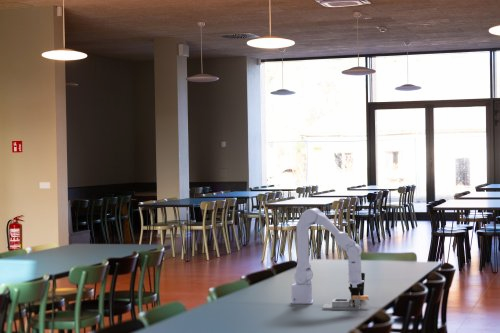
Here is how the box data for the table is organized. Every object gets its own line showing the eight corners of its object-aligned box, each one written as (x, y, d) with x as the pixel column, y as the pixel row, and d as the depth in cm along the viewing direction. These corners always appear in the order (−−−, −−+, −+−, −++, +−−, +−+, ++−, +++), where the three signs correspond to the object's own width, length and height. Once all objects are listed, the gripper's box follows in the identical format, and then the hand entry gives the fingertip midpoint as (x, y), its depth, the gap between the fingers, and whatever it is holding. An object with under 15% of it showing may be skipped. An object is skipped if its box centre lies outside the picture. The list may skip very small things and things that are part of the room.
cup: (353, 301, 368) (352, 275, 368) (346, 298, 375) (345, 273, 375) (368, 299, 370) (367, 274, 370) (361, 297, 377) (360, 272, 377)
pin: (352, 299, 350) (352, 296, 350) (352, 299, 352) (352, 295, 352) (368, 299, 349) (368, 296, 349) (368, 299, 351) (368, 295, 351)
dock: (322, 309, 348) (322, 298, 348) (324, 305, 358) (324, 294, 358) (359, 310, 346) (358, 298, 346) (360, 305, 355) (359, 294, 355)
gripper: (363, 273, 351) (364, 303, 351) (364, 268, 365) (365, 298, 365) (347, 273, 352) (348, 303, 352) (349, 268, 366) (349, 298, 366)
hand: (355, 301), depth 359 cm, fingers open, 7 cm apart
